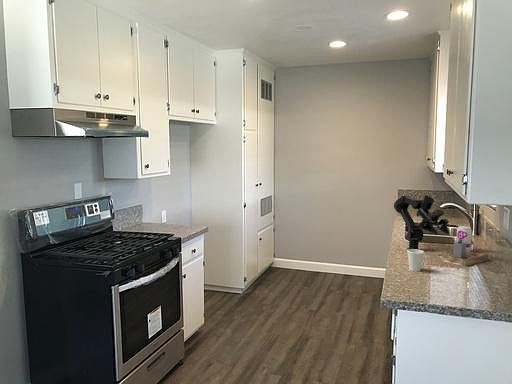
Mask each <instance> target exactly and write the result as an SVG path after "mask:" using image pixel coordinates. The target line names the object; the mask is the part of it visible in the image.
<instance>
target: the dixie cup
mask: <svg viewBox="0 0 512 384" xmlns="http://www.w3.org/2000/svg"><path fill="white" fill-rule="evenodd" d="M406 251H407V259H408V270H409V271H410V272H411V271H413V272H420V271H421V270H422V266H423V259H424V254H425V251H424V250H423V249H422V250H421V249H420V250H417V249H410V250H408V249H407V250H406Z"/></svg>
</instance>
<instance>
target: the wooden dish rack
mask: <svg viewBox="0 0 512 384" xmlns="http://www.w3.org/2000/svg"><path fill="white" fill-rule="evenodd" d="M485 261H489V253H480V254H479V253H475V252H471V251H469V252H467V251H466V254H465V259H460V258H455V257H453V256H451V255H446V258H445V259H442V260H441V261H440V262H446V263H450V264H454V265H458V266H461V267H468V266H471V265H475V264H479V263H482V262H485Z"/></svg>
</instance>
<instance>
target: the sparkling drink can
mask: <svg viewBox="0 0 512 384" xmlns="http://www.w3.org/2000/svg"><path fill="white" fill-rule="evenodd" d="M472 231H473V230H472V228H471V227H470V226H465V225H464V226H463V225H458V226H457V228H456V239H455V240H456V241H455V242H458V239H462V243H466V251H467V252H471V249H472V233H473V232H472Z"/></svg>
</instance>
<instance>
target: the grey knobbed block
mask: <svg viewBox="0 0 512 384" xmlns="http://www.w3.org/2000/svg"><path fill="white" fill-rule="evenodd" d="M452 250H453V253H452V254H453V255H452V257H455V258H460V259H465V254H466V243H462V239H458V242H456V241H455V242H453V249H452Z"/></svg>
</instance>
